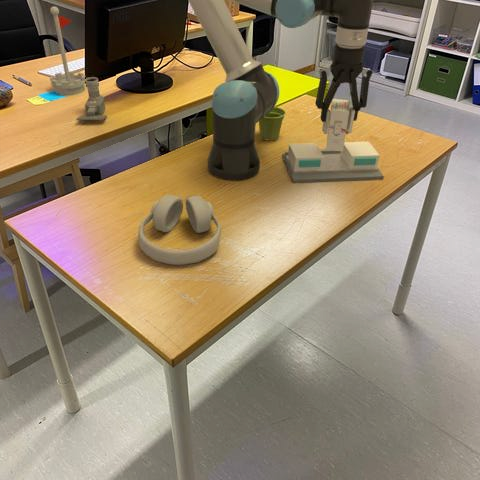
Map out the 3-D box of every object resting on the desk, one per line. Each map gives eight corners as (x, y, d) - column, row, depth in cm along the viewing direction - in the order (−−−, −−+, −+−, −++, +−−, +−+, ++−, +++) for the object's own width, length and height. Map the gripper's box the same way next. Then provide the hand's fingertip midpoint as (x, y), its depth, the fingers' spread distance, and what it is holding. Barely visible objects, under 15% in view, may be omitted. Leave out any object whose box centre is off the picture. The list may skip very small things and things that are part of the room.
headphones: (148, 211, 115) (134, 272, 101) (144, 186, 110) (129, 247, 96) (223, 213, 115) (219, 274, 101) (223, 188, 110) (219, 249, 96)
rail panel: (293, 183, 129) (295, 164, 126) (282, 156, 142) (283, 138, 138) (383, 179, 132) (387, 160, 129) (364, 153, 145) (368, 136, 141)
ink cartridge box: (326, 137, 136) (333, 87, 127) (343, 139, 136) (352, 89, 127) (324, 150, 130) (332, 98, 121) (343, 152, 129) (352, 100, 120)
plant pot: (289, 139, 152) (291, 114, 146) (265, 145, 148) (266, 119, 142) (273, 129, 158) (275, 104, 153) (249, 134, 154) (250, 109, 149)
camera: (106, 76, 162) (98, 91, 150) (111, 108, 169) (103, 126, 157) (80, 75, 162) (70, 91, 150) (86, 108, 169) (77, 126, 157)
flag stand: (57, 98, 176) (38, 11, 158) (49, 88, 185) (30, 4, 167) (91, 93, 181) (77, 8, 163) (82, 83, 190) (68, 1, 172)
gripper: (316, 49, 112) (306, 138, 126) (392, 48, 114) (374, 136, 128) (309, 41, 118) (300, 127, 132) (381, 40, 120) (365, 125, 134)
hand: (336, 131), depth 130 cm, fingers closed on ink cartridge box, 6 cm apart
